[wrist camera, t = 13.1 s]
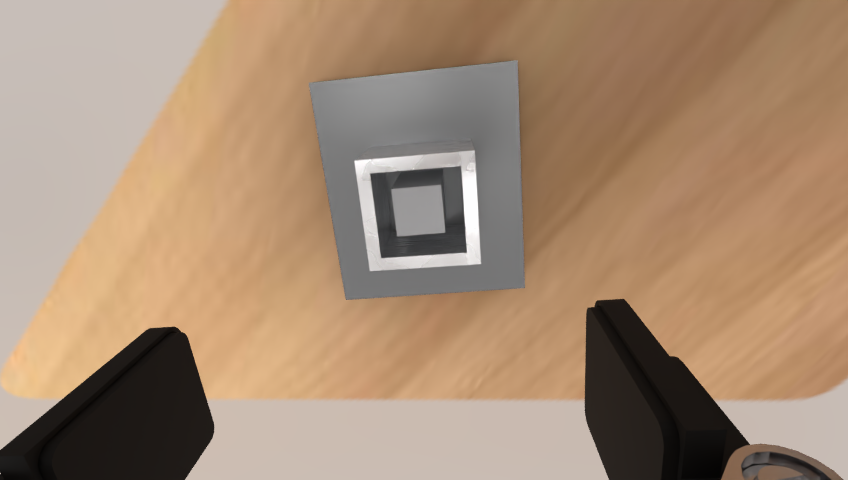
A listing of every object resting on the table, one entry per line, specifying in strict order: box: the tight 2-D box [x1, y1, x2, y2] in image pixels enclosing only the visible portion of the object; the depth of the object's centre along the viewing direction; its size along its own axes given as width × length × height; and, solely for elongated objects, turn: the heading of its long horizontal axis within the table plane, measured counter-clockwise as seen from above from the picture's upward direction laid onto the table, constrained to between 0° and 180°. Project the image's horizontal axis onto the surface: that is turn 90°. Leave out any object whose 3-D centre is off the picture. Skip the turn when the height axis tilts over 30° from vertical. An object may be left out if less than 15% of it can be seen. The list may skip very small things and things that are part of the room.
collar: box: [354, 139, 481, 271], centre depth 26 cm, size 6×6×5 cm
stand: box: [309, 60, 525, 300], centre depth 27 cm, size 12×14×6 cm
